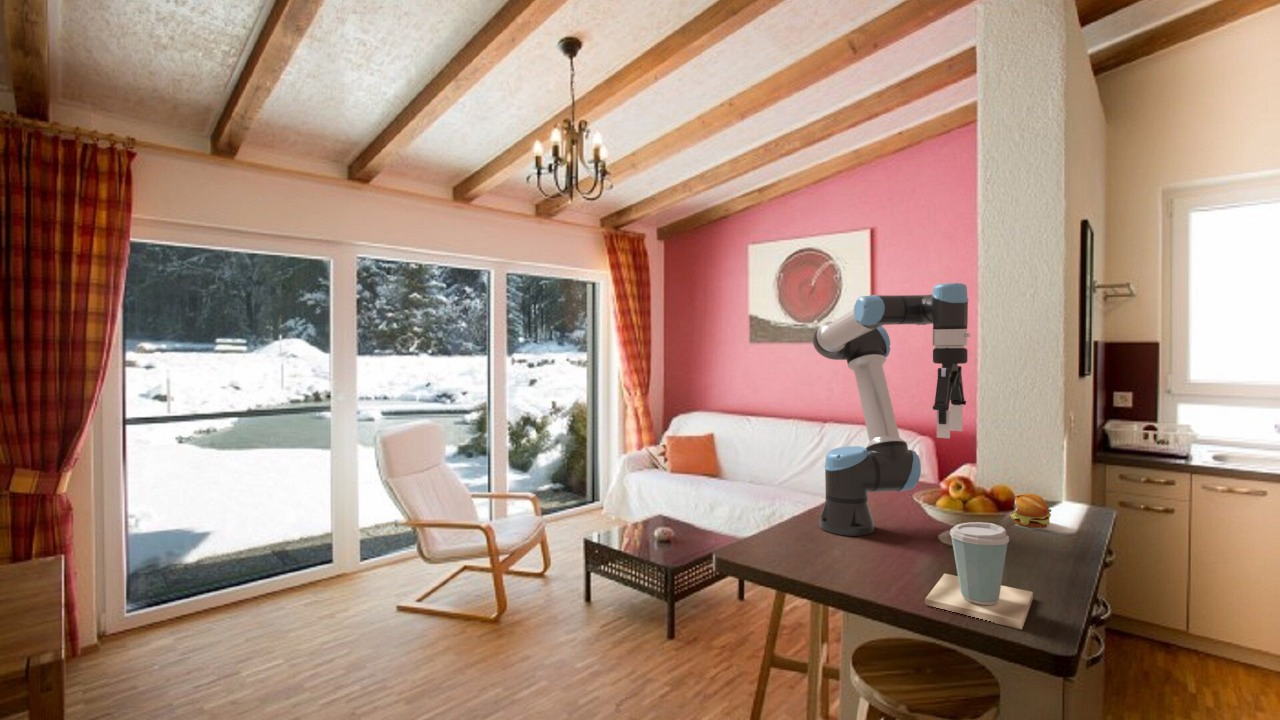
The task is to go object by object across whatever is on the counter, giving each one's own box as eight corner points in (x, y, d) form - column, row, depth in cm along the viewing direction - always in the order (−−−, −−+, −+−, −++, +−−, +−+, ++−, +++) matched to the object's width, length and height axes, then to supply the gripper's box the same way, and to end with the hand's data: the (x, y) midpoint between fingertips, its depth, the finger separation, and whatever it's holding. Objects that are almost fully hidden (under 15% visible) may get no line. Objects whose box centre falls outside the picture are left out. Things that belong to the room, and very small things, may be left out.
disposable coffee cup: (965, 610, 119) (965, 534, 119) (940, 588, 130) (940, 518, 129) (1020, 610, 119) (1020, 534, 118) (990, 588, 129) (990, 518, 129)
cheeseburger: (1050, 521, 180) (1051, 490, 178) (1051, 539, 172) (1052, 507, 169) (1010, 515, 186) (1011, 486, 183) (1009, 533, 177) (1010, 502, 175)
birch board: (925, 605, 125) (925, 598, 125) (944, 579, 138) (944, 573, 138) (1021, 629, 114) (1021, 621, 114) (1032, 599, 127) (1032, 592, 127)
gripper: (955, 348, 135) (955, 442, 136) (977, 346, 154) (977, 429, 155) (919, 348, 140) (919, 439, 140) (945, 346, 159) (945, 426, 160)
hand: (949, 434), depth 148 cm, fingers open, 13 cm apart
